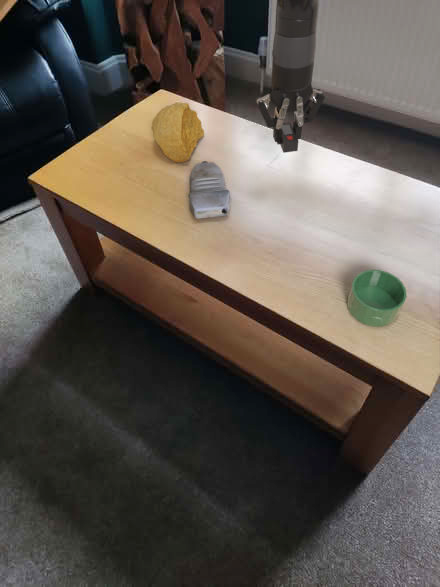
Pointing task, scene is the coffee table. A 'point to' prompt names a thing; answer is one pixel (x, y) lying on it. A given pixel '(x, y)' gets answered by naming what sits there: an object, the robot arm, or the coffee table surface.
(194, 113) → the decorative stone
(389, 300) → the bowl
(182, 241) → the coffee table surface
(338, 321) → the coffee table surface
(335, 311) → the coffee table surface
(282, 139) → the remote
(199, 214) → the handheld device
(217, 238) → the coffee table surface
